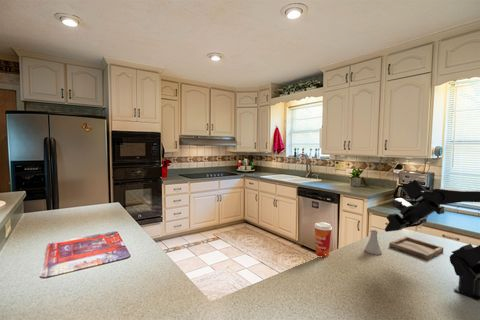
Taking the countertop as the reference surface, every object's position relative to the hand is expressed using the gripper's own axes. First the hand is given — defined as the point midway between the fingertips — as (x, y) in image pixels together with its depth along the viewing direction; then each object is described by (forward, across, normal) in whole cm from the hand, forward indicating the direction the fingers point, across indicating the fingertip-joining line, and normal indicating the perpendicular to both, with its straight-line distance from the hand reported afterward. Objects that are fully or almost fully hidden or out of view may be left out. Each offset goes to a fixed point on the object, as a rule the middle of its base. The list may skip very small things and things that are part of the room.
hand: (392, 229), depth 106 cm
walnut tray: (+10, -20, +9) cm, 24 cm away
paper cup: (+21, +24, -2) cm, 32 cm away
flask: (+15, 0, +4) cm, 16 cm away
